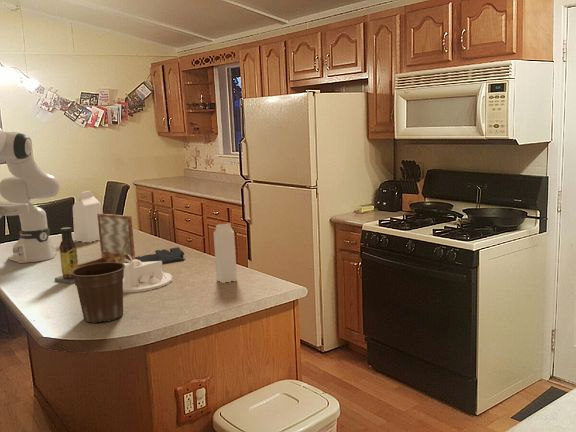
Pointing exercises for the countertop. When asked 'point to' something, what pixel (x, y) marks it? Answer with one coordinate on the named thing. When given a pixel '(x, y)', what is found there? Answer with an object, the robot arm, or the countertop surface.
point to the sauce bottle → (68, 253)
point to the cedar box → (114, 238)
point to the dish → (144, 276)
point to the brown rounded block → (121, 260)
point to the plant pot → (100, 290)
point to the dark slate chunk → (164, 256)
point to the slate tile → (65, 280)
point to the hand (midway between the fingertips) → (24, 204)
